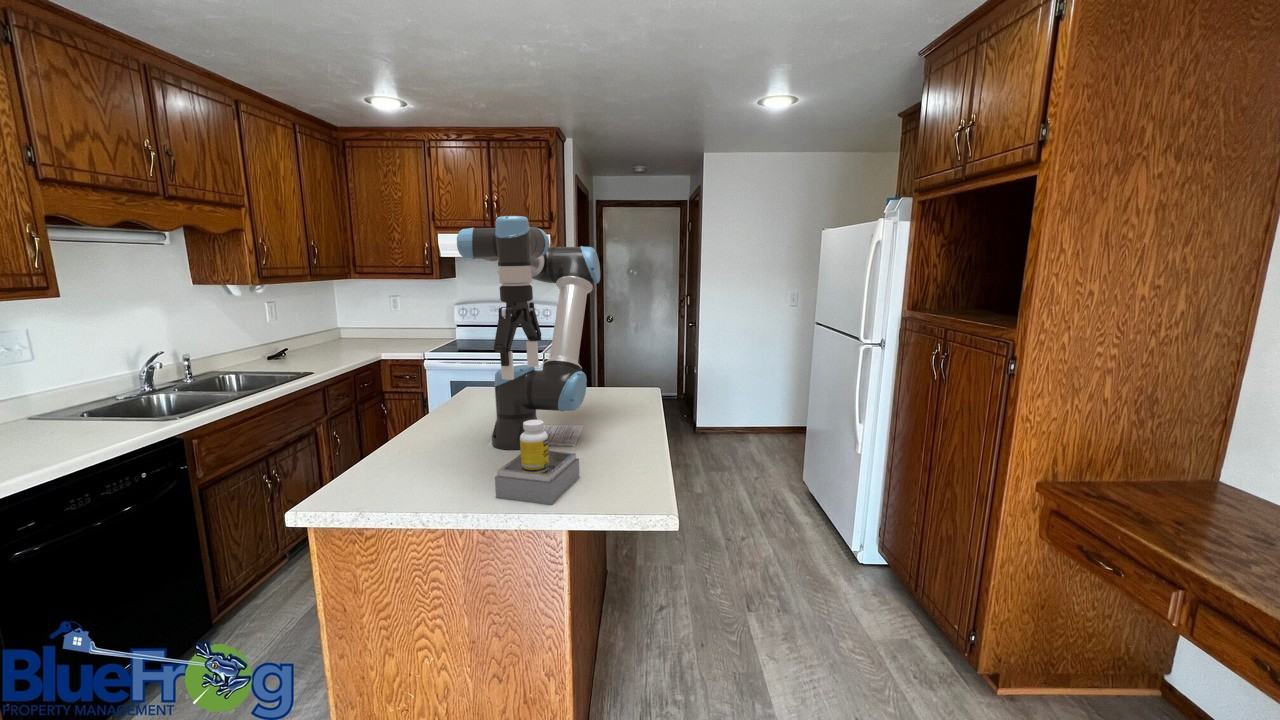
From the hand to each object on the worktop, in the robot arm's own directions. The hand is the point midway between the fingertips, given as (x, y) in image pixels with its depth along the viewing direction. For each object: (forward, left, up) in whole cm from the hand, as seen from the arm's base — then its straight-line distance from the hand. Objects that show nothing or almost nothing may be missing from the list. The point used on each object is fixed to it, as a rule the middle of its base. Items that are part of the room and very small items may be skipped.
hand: (521, 372), depth 127 cm
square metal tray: (+5, +5, -27) cm, 28 cm away
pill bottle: (+6, +6, -22) cm, 24 cm away
